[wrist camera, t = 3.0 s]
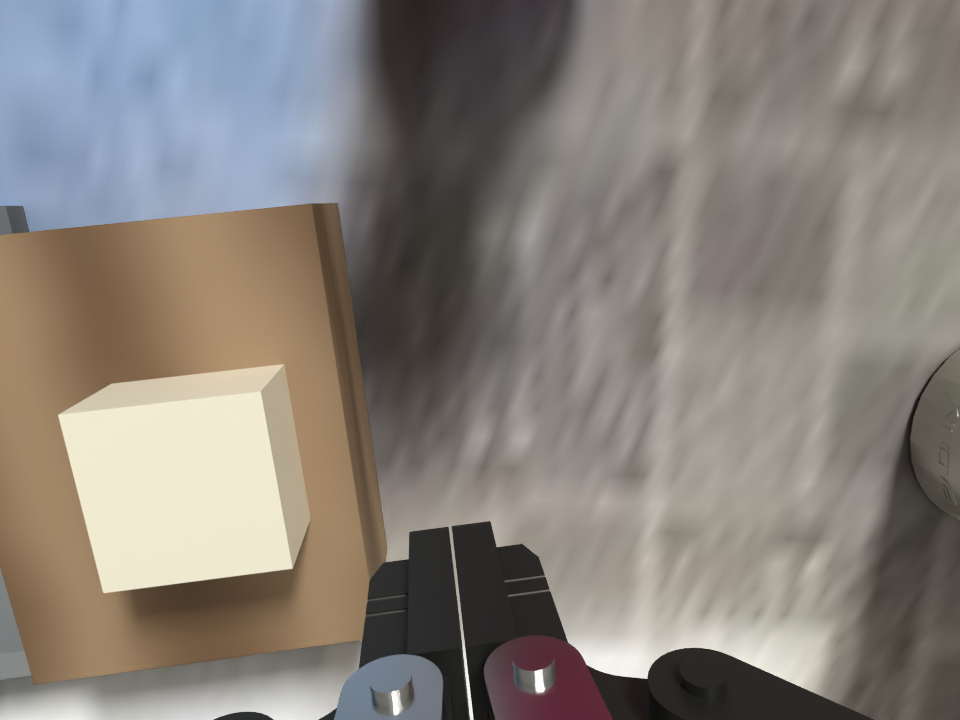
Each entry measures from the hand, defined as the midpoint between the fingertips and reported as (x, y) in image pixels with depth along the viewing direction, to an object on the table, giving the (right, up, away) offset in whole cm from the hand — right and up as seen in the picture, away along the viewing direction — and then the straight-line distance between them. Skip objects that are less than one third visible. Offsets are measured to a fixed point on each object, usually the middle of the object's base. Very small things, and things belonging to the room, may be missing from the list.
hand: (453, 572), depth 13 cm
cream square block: (-8, +1, +8) cm, 11 cm away
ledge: (-10, +2, +14) cm, 17 cm away
